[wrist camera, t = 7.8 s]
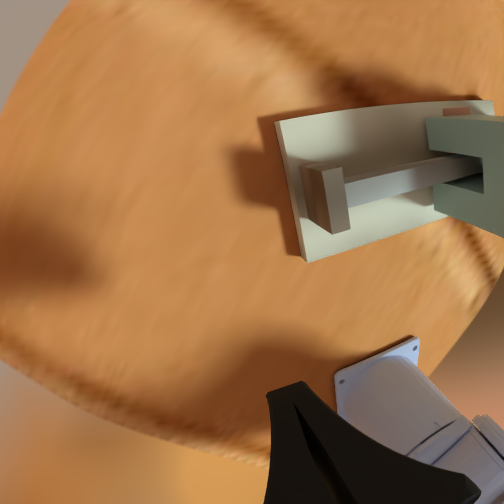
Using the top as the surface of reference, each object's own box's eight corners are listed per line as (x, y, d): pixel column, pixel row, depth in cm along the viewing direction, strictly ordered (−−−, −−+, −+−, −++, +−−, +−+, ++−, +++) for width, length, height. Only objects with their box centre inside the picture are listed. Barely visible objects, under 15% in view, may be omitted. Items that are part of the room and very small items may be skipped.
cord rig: (491, 195, 22) (545, 213, 16) (301, 257, 19) (347, 303, 14) (483, 100, 19) (542, 103, 13) (273, 121, 16) (318, 114, 11)
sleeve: (478, 195, 19) (547, 218, 13) (434, 210, 19) (509, 240, 13) (472, 114, 17) (546, 120, 11) (424, 118, 17) (507, 122, 11)
